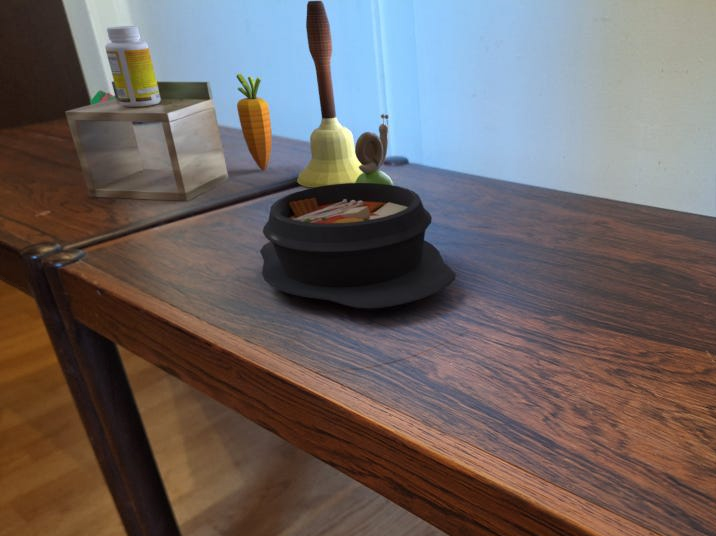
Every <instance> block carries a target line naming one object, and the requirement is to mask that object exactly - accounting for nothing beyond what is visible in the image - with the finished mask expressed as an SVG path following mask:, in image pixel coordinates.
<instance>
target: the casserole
mask: <svg viewBox="0 0 716 536" xmlns="http://www.w3.org/2000/svg"><path fill="white" fill-rule="evenodd" d="M432 220H433V219H432V214H431V213H430V212H429V211H428V210H427V209H425V206H424V204H423V201H422V199H421V197H420V195H419V194H418V193H416V192H415V191H414V190H411V189H409V188H407V187H403V186H399V185H395V184H394V185H388V184H377V183H344V184H333V185H326V186H320V187H314V188H312V187H309V188H305V189H302V190H298V191H295V192H293V193H289V194H287V195H284V196H283V197H280V198H279V199H278V200H276V201H274V202H273V204H272V205H271V206H270V210H269V216H268V220H267V222H266V223H265V224H264V226H263V228H262V234H263V236H264V237H265V238H266V239H267V240H268V241H269V242H267V243H265V244H263V246H262V247H261V249H260V250H259V252H260V255H261V257H262V260H263V264H262V270H261V271H262V272H261V275H262V277H263V280H264V281H265V282H266V283H267V284H268V285H269V286H270V287H272V288H275V289H277V290H279V291H281V292H283V293H287V294H288V295H293V296H297V297H301V298H302V297H303V298H309V299H315V300H323V301H331V302H332V303H333V302H334V303H337V304H340V305H343V306H346V307H350V308H356V309H363V310H364V309H365V310H375V309H385V308H390V307H396V306H400V305H406V304H409V303H412V302H416V301H419V300H422V299H425V298H427V297H430V296H433V295H435V294H437V293H439V292H440V291H443V290H444V289H447V288H448V287H449V286H450V285H451V284H453V283H454V281H456V275H457V274H456V273H455V272H454V270H453V269H452V268H451V267H450V266H449V265H447V264H446V262H444V259H443V257H442V255H441V253H440V250H439V249H438V248H437V247H436V246H434V244H432V243H430V242H429V241H427V240H425V236H426V230H427V229H428V228H429V226H430V225H431V224H432Z"/></svg>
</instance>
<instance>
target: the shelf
mask: <svg viewBox="0 0 716 536" xmlns="http://www.w3.org/2000/svg"><path fill="white" fill-rule="evenodd" d="M156 81H157V85H158V89H159V94H160V98H161V100H160V102H159V103H158V104H155V105H151V106H144V107H125V106H123V105H121V104H120V102H119V98H118V94H117V91H116V87H115V83H114V80H113V81H111V86H112V90H113V93H114V95H115V97H116V99H112V100H108V101H104V102H100V103H96V104H92V105H91V104H89V105H84V106H81V107H76V108H73V109H69V110H66V111H64V113H65V116H66V120H67V123H68V126H69V130H70V133H71V137H72V141H73V143H74V147H75V150H76V154H77V156H78V160H79V163H80V168H81V171H82V174H83V177H84V181H85V184H86V188H87V190H88V194H89V197H90V198H105V199H106V198H107V199H108V198H109V199H128V200H129V199H133V200H153V201H180V202H188V201H190V200H192V199H193V198H196V197H198V196H200V195H201V194H204V193H205V192H207V191H209V190H211V189H213V188H214V187H217V186H219V185H220V184H222V183H224V182H226V181H228V180H229V174H228V169H227V163H226V159H225V154H224V149H223V143H222V138H221V133H220V128H219V122H218V117H217V113H216V108H215V103H214V97H213V92H212V88H211V82H210V81H169V80H168V81H161V80H160V81H158V80H156ZM133 122H138V123H141V122H143V123H161V125H162V129H163V133H164V134H163V135H164V138H165V142H166V146H167V150H168V151H167V152H168V155H169V160H170V164H171V168H172V169H155V168H154V169H152V168H151V169H149V168H144V165H143V160H142V156H141V152H140V149H139V145H138V141H137V137H136V133H135V129H134V124H133Z"/></svg>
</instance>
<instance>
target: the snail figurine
mask: <svg viewBox="0 0 716 536" xmlns="http://www.w3.org/2000/svg"><path fill="white" fill-rule="evenodd" d="M380 118H381V119H382V123H381V124H380V125H379V127H378V133H379V135H378V134H377V133H375V132H373V131H365V132H363V133H361V134H360V136H359V137H358V138H357V140H356V143H355V145H354V148H355V154H356V157H357V159H358V161H359V162H360V163H361V164H362V165H360V166H359V169H360V170H361V171H362V172H363V173H362V174H360V175H359V177H358V178H357V179H356V181H355V183H377V184H388V185H394V186H395V184H394V182H393V180H392V179H391V177H390V176H389V175H388V174H387V173H386V172H384V171H382V170H379V169H380V168H381V167H382V166H383V165H384V163H385V161H386V158H387V154H388V149H389V148H388V147H389V131H390V129H389V126H388V125H389V124H388V123H389V122H388V121H389V120H388V119H389V118H390V116H389V115H388V114H383V113H381V115H380ZM384 119H386V123H385V121H384Z"/></svg>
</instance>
